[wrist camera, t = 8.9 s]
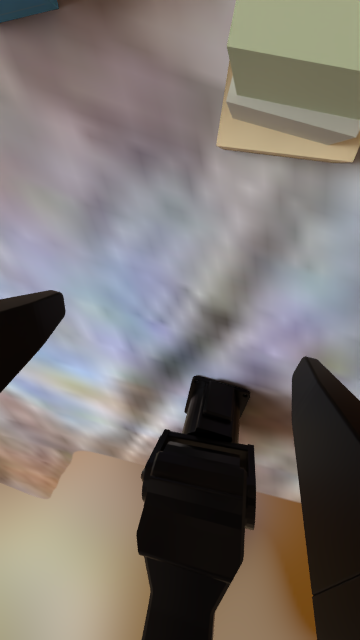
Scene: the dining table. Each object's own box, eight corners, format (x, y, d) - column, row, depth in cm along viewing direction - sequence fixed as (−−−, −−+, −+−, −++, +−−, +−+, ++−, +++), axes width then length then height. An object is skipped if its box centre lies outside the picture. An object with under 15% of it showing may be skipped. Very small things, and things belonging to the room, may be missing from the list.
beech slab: (331, 162, 16) (352, 162, 12) (223, 149, 17) (216, 145, 13) (396, -9, 12) (452, -75, 9) (250, -13, 13) (250, -74, 10)
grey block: (328, 145, 12) (356, 137, 9) (232, 118, 13) (225, 101, 9) (402, -9, 10) (481, -103, 6) (276, -39, 10) (289, -142, 7)
